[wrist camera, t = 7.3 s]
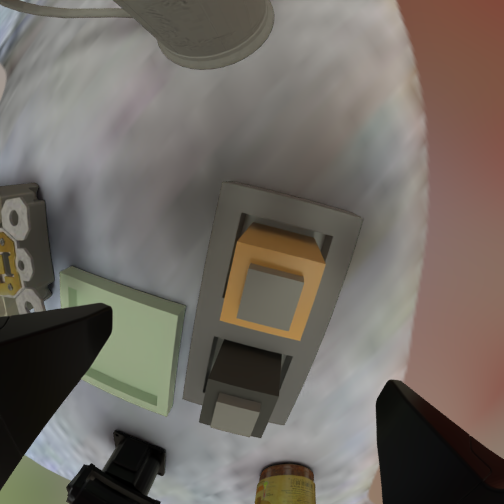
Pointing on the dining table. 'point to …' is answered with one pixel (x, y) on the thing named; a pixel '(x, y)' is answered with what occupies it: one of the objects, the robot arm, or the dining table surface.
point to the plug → (273, 281)
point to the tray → (131, 340)
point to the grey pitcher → (185, 26)
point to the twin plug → (242, 389)
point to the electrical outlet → (23, 251)
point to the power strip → (217, 275)
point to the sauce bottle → (286, 485)
